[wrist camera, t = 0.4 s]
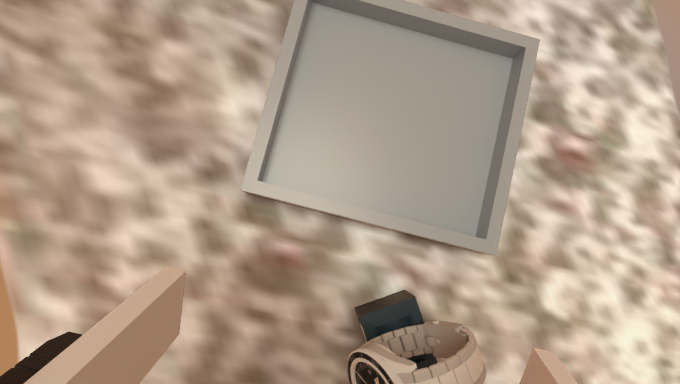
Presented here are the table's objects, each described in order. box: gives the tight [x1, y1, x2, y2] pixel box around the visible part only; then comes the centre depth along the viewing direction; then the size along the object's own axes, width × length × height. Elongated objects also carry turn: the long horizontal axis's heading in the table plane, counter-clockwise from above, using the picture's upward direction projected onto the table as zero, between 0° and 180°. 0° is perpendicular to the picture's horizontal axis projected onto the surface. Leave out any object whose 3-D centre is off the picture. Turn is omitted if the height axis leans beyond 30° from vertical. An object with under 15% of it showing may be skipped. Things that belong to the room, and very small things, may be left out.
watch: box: [347, 290, 486, 384], centre depth 24 cm, size 6×8×11 cm
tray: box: [241, 0, 540, 255], centre depth 30 cm, size 18×20×2 cm
